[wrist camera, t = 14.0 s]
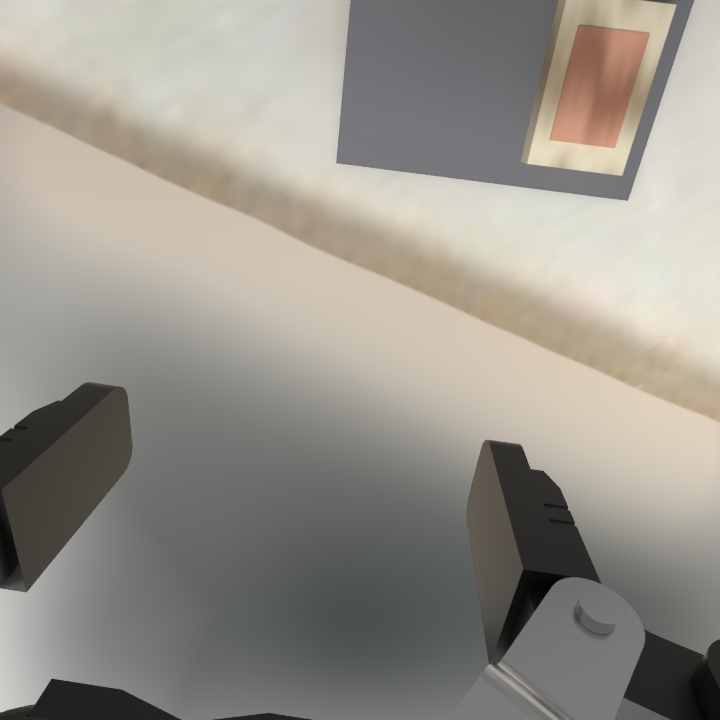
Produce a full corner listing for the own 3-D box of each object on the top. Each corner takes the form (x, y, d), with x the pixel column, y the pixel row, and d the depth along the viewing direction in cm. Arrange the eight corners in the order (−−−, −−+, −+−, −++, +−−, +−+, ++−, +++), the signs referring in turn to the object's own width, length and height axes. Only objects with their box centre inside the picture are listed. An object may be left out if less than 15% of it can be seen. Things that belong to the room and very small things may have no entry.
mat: (337, 162, 35) (336, 163, 34) (356, -52, 30) (355, -55, 29) (624, 199, 34) (627, 200, 34) (693, -12, 29) (698, -15, 29)
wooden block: (569, -10, 28) (678, 3, 28) (558, 0, 30) (660, 12, 30) (527, 163, 32) (623, 176, 31) (520, 162, 33) (610, 173, 33)
